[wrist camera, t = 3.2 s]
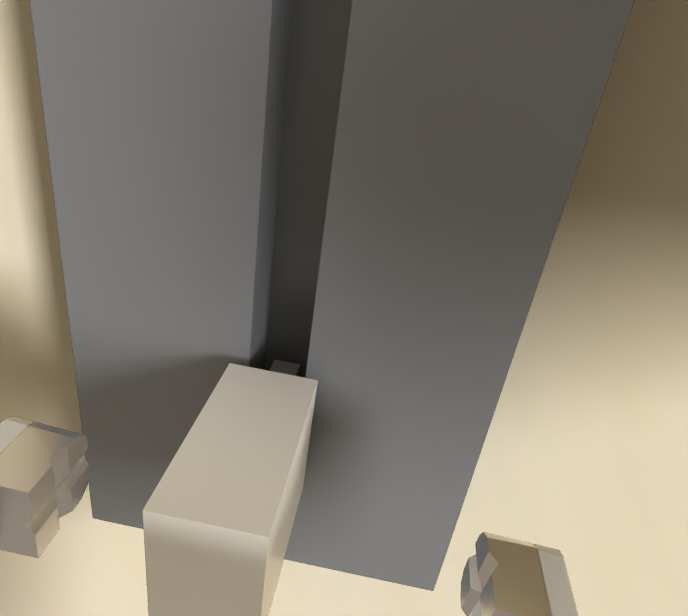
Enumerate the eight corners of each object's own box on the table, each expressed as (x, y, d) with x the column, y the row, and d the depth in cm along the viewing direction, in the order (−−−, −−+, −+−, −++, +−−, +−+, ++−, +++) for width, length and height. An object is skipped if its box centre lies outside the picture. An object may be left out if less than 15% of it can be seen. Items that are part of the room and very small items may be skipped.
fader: (329, 341, 16) (268, 537, 10) (314, 443, 18) (256, 661, 12) (251, 326, 16) (142, 510, 10) (244, 428, 18) (150, 637, 12)
